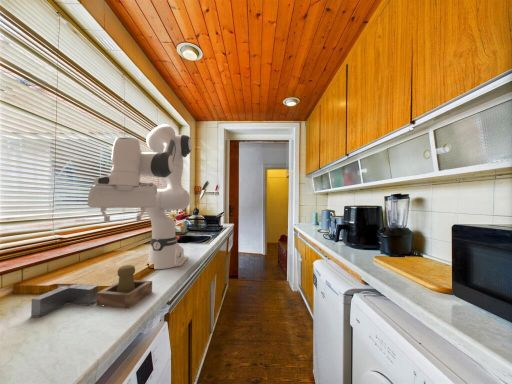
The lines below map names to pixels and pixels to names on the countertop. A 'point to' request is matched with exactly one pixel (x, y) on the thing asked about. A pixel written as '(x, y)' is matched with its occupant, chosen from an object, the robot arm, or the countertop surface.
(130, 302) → the sleeve
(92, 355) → the countertop surface
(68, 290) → the v block
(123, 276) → the cork
